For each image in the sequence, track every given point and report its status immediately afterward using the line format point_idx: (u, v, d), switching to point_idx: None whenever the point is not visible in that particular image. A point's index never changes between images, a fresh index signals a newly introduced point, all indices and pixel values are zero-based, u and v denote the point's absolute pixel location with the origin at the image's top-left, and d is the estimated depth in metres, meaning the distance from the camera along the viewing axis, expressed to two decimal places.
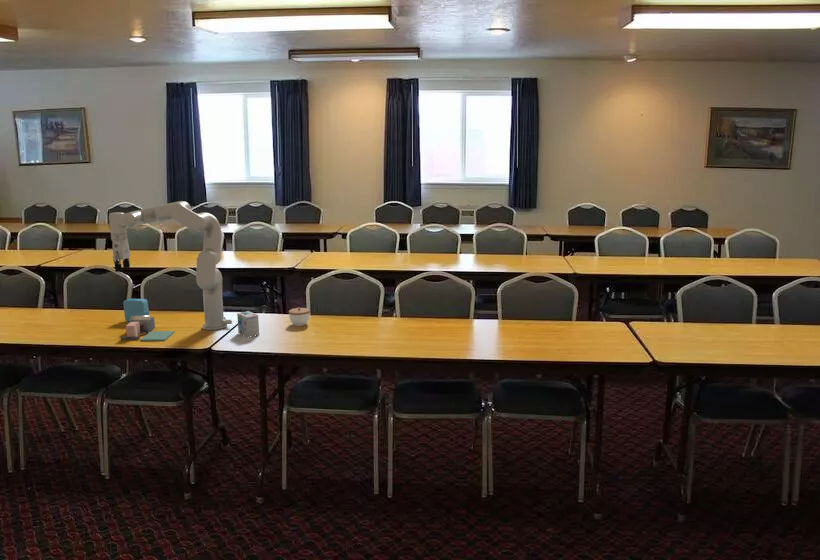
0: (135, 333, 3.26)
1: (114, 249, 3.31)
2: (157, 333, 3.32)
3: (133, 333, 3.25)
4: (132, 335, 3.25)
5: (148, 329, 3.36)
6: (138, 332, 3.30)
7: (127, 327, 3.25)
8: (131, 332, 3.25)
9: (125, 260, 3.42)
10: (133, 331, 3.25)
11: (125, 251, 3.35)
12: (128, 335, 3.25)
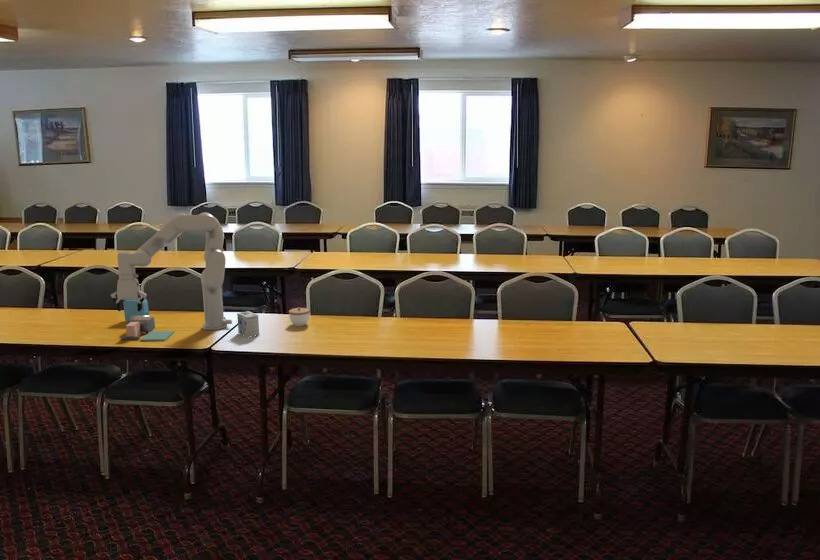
0: (135, 333, 3.26)
1: (137, 288, 3.23)
2: (157, 333, 3.32)
3: (133, 333, 3.25)
4: (132, 335, 3.25)
5: (148, 329, 3.36)
6: (138, 332, 3.30)
7: (127, 327, 3.25)
8: (131, 332, 3.25)
9: (119, 302, 3.25)
10: (133, 331, 3.25)
11: None
12: (128, 335, 3.25)
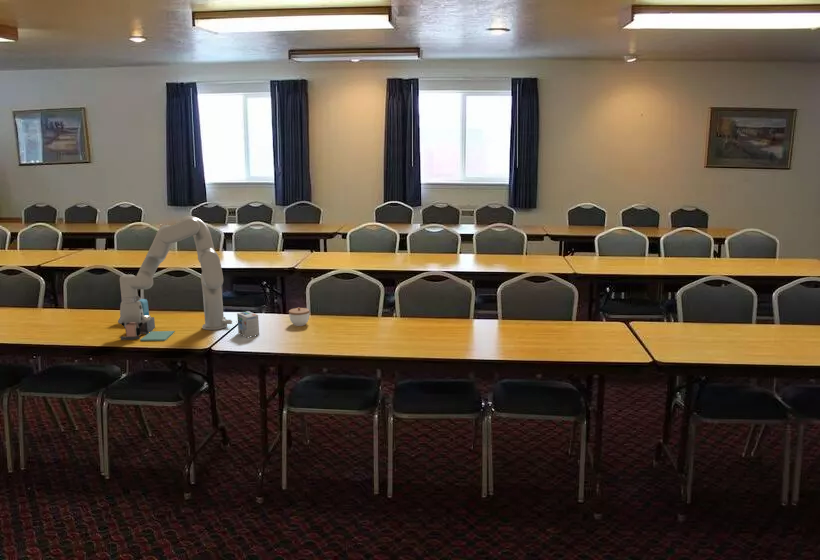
0: (135, 333, 3.26)
1: (140, 311, 3.25)
2: (157, 333, 3.32)
3: (133, 333, 3.25)
4: (132, 335, 3.25)
5: (148, 329, 3.36)
6: None
7: (127, 327, 3.25)
8: (131, 332, 3.25)
9: None
10: (133, 331, 3.25)
11: None
12: (128, 335, 3.25)
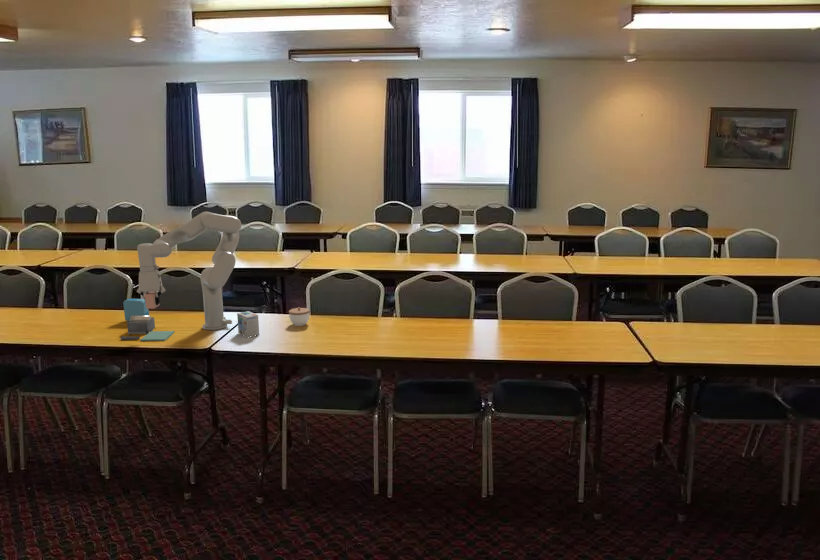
0: (154, 302, 3.23)
1: (158, 280, 3.22)
2: (157, 333, 3.32)
3: (152, 302, 3.22)
4: (151, 304, 3.22)
5: (148, 329, 3.36)
6: None
7: (146, 296, 3.22)
8: (150, 301, 3.22)
9: None
10: (152, 300, 3.22)
11: None
12: (147, 304, 3.23)
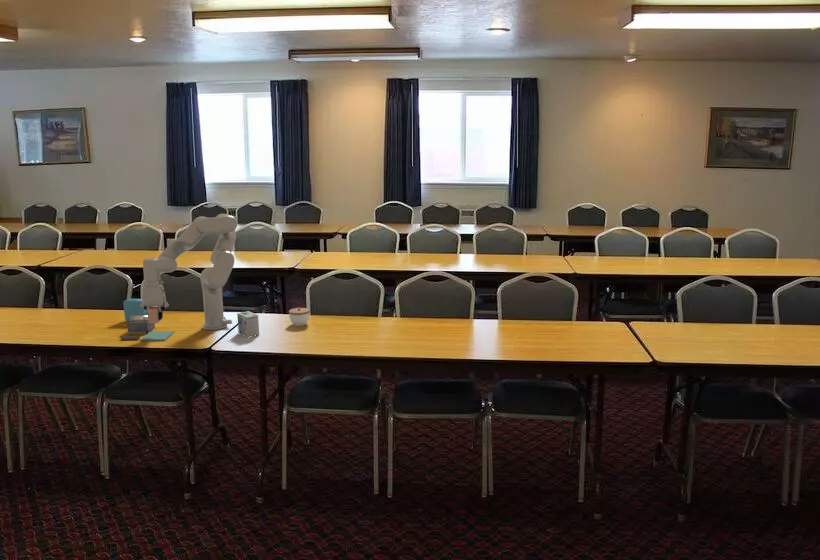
0: (157, 317, 3.24)
1: (162, 295, 3.24)
2: (157, 333, 3.32)
3: (155, 317, 3.23)
4: (154, 318, 3.24)
5: (148, 329, 3.36)
6: None
7: (149, 311, 3.23)
8: (153, 316, 3.23)
9: None
10: (155, 315, 3.23)
11: None
12: (150, 319, 3.24)
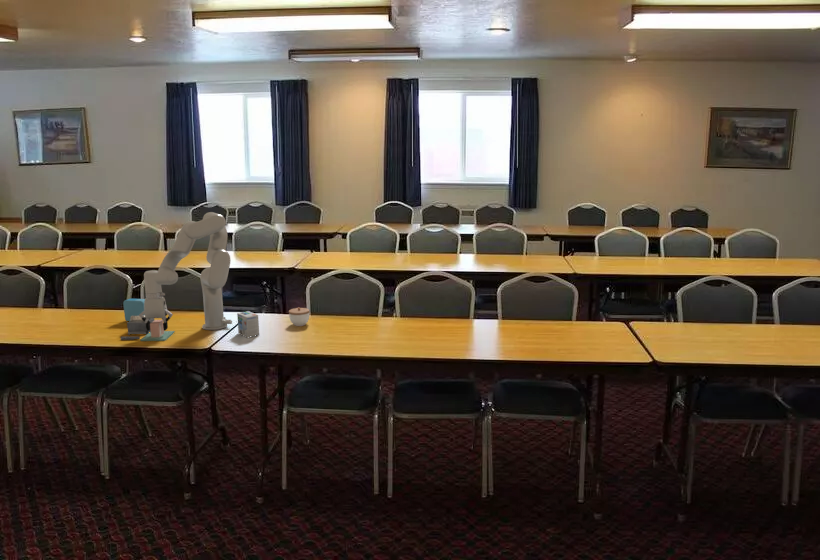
0: (159, 331, 3.26)
1: (164, 307, 3.25)
2: None
3: (157, 331, 3.25)
4: (157, 333, 3.25)
5: None
6: (162, 330, 3.30)
7: (151, 325, 3.24)
8: (155, 330, 3.25)
9: (149, 321, 3.28)
10: (157, 329, 3.25)
11: None
12: (152, 333, 3.25)
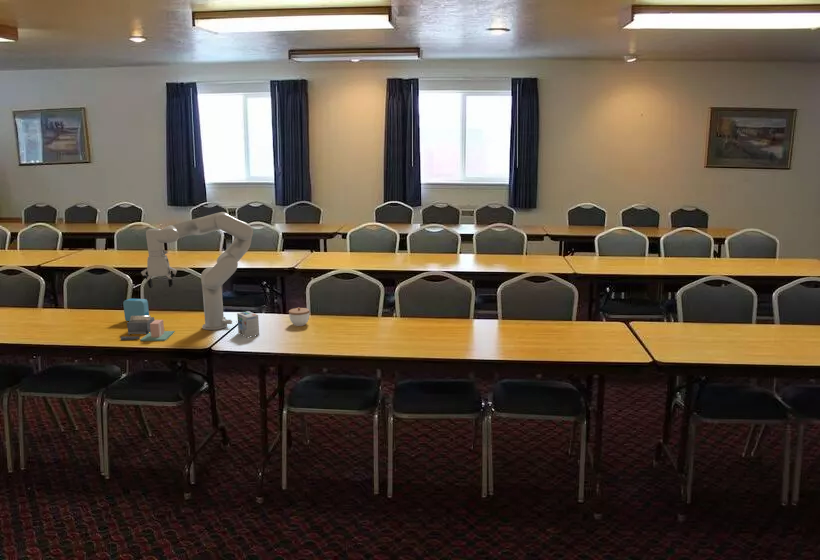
0: (159, 331, 3.26)
1: (167, 264, 3.28)
2: None
3: (157, 331, 3.25)
4: (157, 333, 3.25)
5: (148, 329, 3.36)
6: (162, 330, 3.30)
7: (151, 325, 3.24)
8: (155, 330, 3.25)
9: (150, 279, 3.30)
10: (157, 329, 3.25)
11: None
12: (152, 333, 3.25)
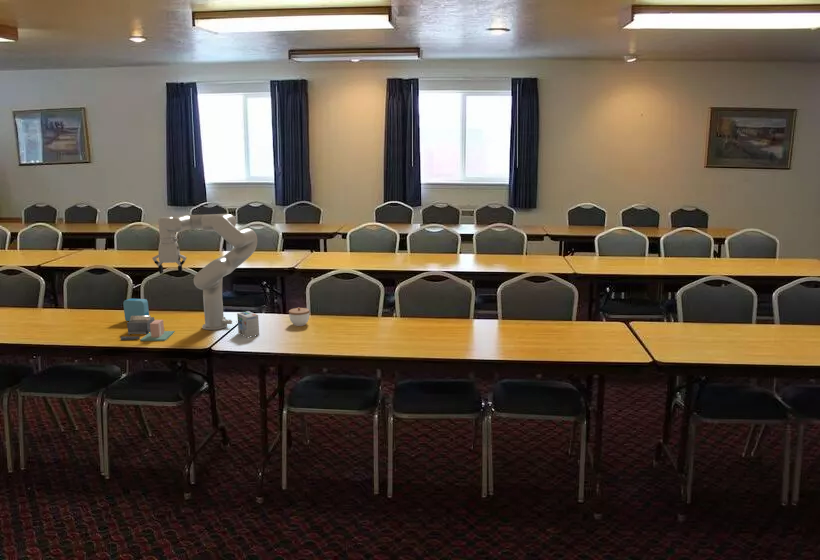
0: (159, 331, 3.26)
1: (177, 251, 3.40)
2: None
3: (157, 331, 3.25)
4: (157, 333, 3.25)
5: (148, 329, 3.36)
6: (162, 330, 3.30)
7: (151, 325, 3.24)
8: (155, 330, 3.25)
9: (161, 265, 3.42)
10: (157, 329, 3.25)
11: None
12: (152, 333, 3.25)
